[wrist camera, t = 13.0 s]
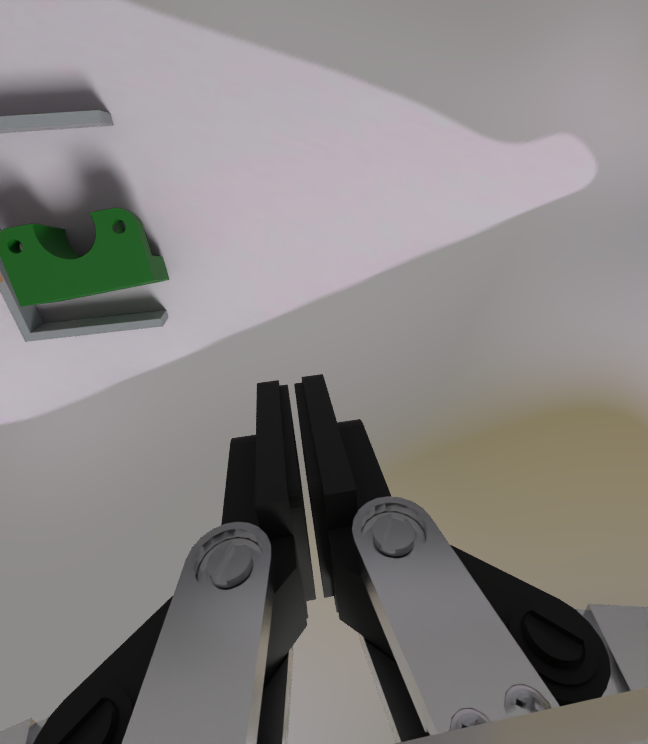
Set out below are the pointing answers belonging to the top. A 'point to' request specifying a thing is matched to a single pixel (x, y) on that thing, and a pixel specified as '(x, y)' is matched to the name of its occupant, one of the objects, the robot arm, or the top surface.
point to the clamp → (79, 260)
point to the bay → (24, 315)
